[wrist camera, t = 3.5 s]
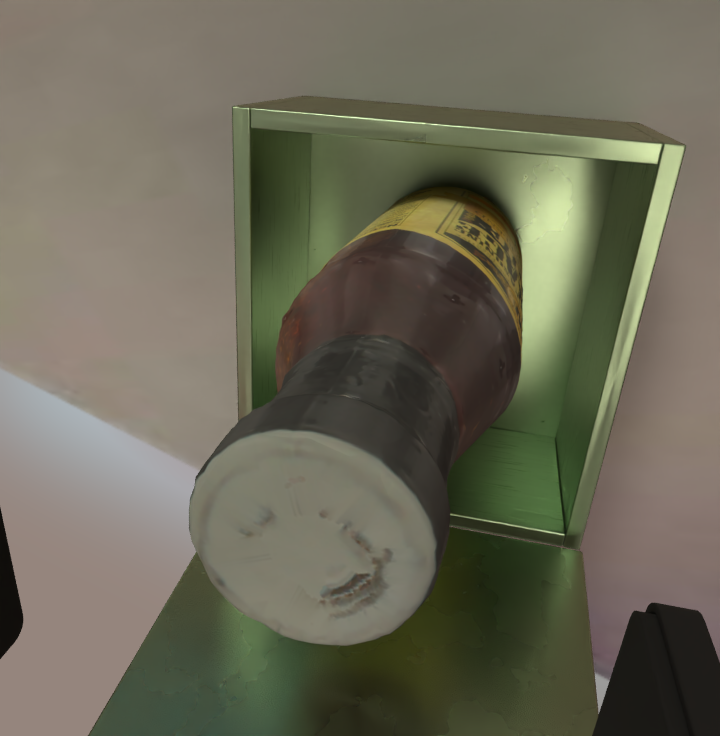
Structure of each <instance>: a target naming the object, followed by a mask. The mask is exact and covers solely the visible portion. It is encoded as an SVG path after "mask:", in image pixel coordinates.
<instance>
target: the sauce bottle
mask: <svg viewBox="0 0 720 736" xmlns="http://www.w3.org/2000/svg"><path fill="white" fill-rule="evenodd" d="M522 303H523V287H522V253H521V247H520V244H519V240H518V237H517V234H516V232H515V230H514V228H513V226H512V225H511V223H510V221H509V219H508V218H507V217H506V216H505V214H504V213H503V212H502V211H501V210H500V209H499V208H498V207H496V205H495V204H494V203H493V202H492V201H491V200H489V199H488V198H486V197H484V196H480V195H478V194H476V193H474V192H472V191H469V190H466V189H462V188H457V187H432V188H427V189H423V190H419V191H416V192H413V193H411V194H409V195H407V196H405V197H403V198H401V199H399V200H397V201H396V202H395V203H394V204H393V205H392V206H391V207H390V208H389V209H387V210H386V211H385V212H384V213H383V214H382V215H380V216H379V217H378V218H377V219H376V220H375V221H374V222H372V223H371V224H370V225H369V226H368V227H366V228H365V229H364V230H363V231H362V232H361V233H359V234H358V235H357V236H356V237H355V238H354V239H352V240H351V241H350V242H349V243H348V244H346V245H345V246H344V247H343V248H342V249H340V250H339V251H338V252H337V253H336V254H335V255H334V256H333V257H332V258H331V259H330V260H329V261H328V262H327V263H326V264H325V265H324V267H323V268H322V269H321V271H320V272H319V273H318V274H317V275H316V276H315V277H314V278H312V279H310V281H309V282H308V283H307V284H306V286H305V287H304V288H303V289H302V290H301V291H300V293H299V294H298V296H297V297H296V298H295V299H294V301H293V303H292V305H291V306H290V308H289V310H288V311H287V313H286V314H285V315H284V316H283V318H282V326H281V329H280V332H279V338H278V343H277V347H276V360H275V373H276V381H277V392H278V393H277V395H276V396H275V397H274V398H273V399H272V401H270V402H269V403H267V404H265V405H264V406H262V407H259V408H257V409H254V410H252V411H251V412H250V413H249V414H248V415H247V416H245V417H243V418H241V419H240V420H239V422H238V423H237V424H236V426H235V427H234V428H232V429H231V431H230V432H229V433H228V434H227V435H226V437H225V438H224V439H223V440H222V442H221V443H220V444H219V446H218V447H217V448H216V450H215V451H214V453H213V454H212V455H211V457H210V458H209V459H208V460H207V462H206V463H205V464H204V466H203V467H202V469H201V470H200V472H199V473H198V475H197V476H196V479H195V486H194V489H193V492H192V495H191V498H190V507H189V530H190V535H191V539H192V542H193V544H194V547H195V549H196V552H197V554H198V556H199V558H200V559H201V561H202V563H203V566H204V568H205V570H206V572H207V574H208V576H209V579H210V581H211V582H212V584H213V585H214V586H215V587H216V588H217V590H218V591H219V592H220V593H221V594H222V595H223V596H224V597H225V598H226V599H227V600H228V601H229V602H230V603H231V604H232V605H233V606H234V607H235V608H236V609H238V610H239V611H240V612H241V613H243V614H244V615H246V616H248V617H250V618H252V619H254V620H256V621H258V622H261V623H262V624H264V625H265V626H267V627H268V628H270V629H271V630H273V631H275V632H277V633H279V634H281V635H283V636H285V637H288V638H291V639H294V640H298V641H303V642H308V643H313V644H324V645H341V646H349V645H354V644H358V643H362V642H367V641H371V640H376V639H378V638H380V637H382V636H384V635H388V634H391V633H392V632H394V631H395V630H396V629H398V628H399V627H401V626H402V625H403V623H404V622H405V621H406V620H407V619H409V618H410V617H411V616H412V615H414V613H415V612H416V611H417V610H418V609H419V607H420V606H421V605H422V604H423V603H424V601H425V600H426V599H427V598H428V597H429V595H430V594H431V593H432V591H433V589H434V586H435V583H436V580H437V577H438V572H439V568H440V565H441V563H442V558H443V554H444V552H445V549H446V545H447V540H448V536H449V532H450V529H449V524H450V513H451V511H450V505H449V499H448V493H447V477H448V475H449V471H450V470H451V467H452V465H453V464H454V463H455V462H456V461H457V460H458V459H459V457H460V456H461V455H462V454H463V453H464V452H465V451H466V450H467V449H468V448H469V447H470V446H471V445H472V444H473V443H474V442H475V441H476V440H477V439H478V438H479V437H480V436H481V435H482V434H483V433H484V432H485V431H486V430H487V429H488V428H489V427H490V426H491V425H492V424H493V423H494V422H495V421H496V420H497V419H498V418H499V417H500V416H501V414H502V413H503V412H504V411H505V410H506V409H507V407H508V405H509V404H510V402H511V400H512V399H513V396H514V394H515V392H516V389H517V386H518V382H519V377H520V371H521V361H522V331H523V327H522V322H523V313H522V312H523V308H522Z"/></svg>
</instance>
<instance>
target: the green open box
mask: <svg viewBox="0 0 720 736" xmlns="http://www.w3.org/2000/svg"><path fill="white" fill-rule="evenodd" d="M232 125H233V175H234V225H235V276H236V326H237V376H238V422H239V420H240V419H241V418H243V417H245V416H247V415H248V414H249V413H250V412H251V411H252V410H254V409H257V408H259V407H262V406H264V405H265V404H267V403H269V402H270V401H272V399H273V398H274V397H275V396H276V395H277V393H278V392H277V381H276V373H275V360H276V347H277V343H278V338H279V332H280V329H281V326H282V318H283V316H284V315H285V314H286V313H287V311H288V310H289V308H290V306H291V305H292V303H293V301H294V299H295V298H296V297H297V296H298V294H299V293H300V291H301V290H302V289H303V288H304V287H305V286H306V284H307V283H308V282H309V281H310V279H312V278H314V277H315V276H316V275H317V274H318V273H319V272H320V271H321V269H322V268H323V267H324V265H325V264H326V263H327V262H328V261H329V260H330V259H331V258H332V257H333V256H334V255H335V254H336V253H337V252H338V251H339V250H340V249H342V248H343V247H344V246H345V245H346V244H348V243H349V242H350V241H351V240H352V239H354V238H355V237H356V236H357V235H358V234H359V233H361V232H362V231H363V230H364V229H365V228H366V227H368V226H369V225H370V224H371V223H372V222H374V221H375V220H376V219H377V218H378V217H379V216H380V215H382V214H383V213H384V212H385V211H386V210H387V209H389V208H390V207H391V206H392V205H393V204H394V203H395V202H396V201H397V200H399V199H401V198H403V197H405V196H407V195H409V194H411V193H413V192H416V191H419V190H423V189H427V188H432V187H457V188H462V189H466V190H469V191H472V192H474V193H476V194H478V195H480V196H484V197H486V198H488V199H489V200H491V201H492V202H493V203H494V204H495V205H496V207H498V208H499V209H500V210H501V211H502V212H503V213H504V214H505V216H506V217H507V218H508V219H509V221H510V223H511V225H512V226H513V228H514V230H515V232H516V234H517V237H518V240H519V244H520V247H521V253H522V287H523V303H522V308H523V312H522V313H523V322H522V327H523V331H522V361H521V371H520V377H519V382H518V386H517V389H516V392H515V394H514V396H513V399H512V400H511V402H510V404H509V405H508V407H507V409H506V410H505V411H504V412H503V413H502V414H501V416H500V417H499V418H498V419H497V420H496V421H495V422H494V423H493V424H492V425H491V426H490V427H489V428H488V429H487V430H486V431H485V432H484V433H483V434H482V435H481V436H480V437H479V438H478V439H477V440H476V441H475V442H474V443H473V444H472V445H471V446H470V447H469V448H468V449H467V450H466V451H465V452H464V453H463V454H462V455H461V456H460V457H459V459H458V460H457V461H456V462H455V463H454V464H453V465H452V467H451V470H450V471H449V475H448V477H447V493H448V499H449V505H450V511H451V513H450V524H449V525H450V526H455V527H460V528H466V529H471V530H477V531H482V532H487V533H493V534H498V535H503V536H509V537H514V538H520V539H525V540H530V541H536V542H541V543H546V544H552V545H557V546H562V545H563V547H566V548H572V549H577V550H579V549H580V546H581V542H582V538H583V534H584V531H585V527H586V523H587V519H588V516H589V512H590V508H591V504H592V500H593V497H594V493H595V489H596V485H597V482H598V478H599V474H600V470H601V466H602V463H603V459H604V455H605V451H606V448H607V444H608V440H609V436H610V432H611V429H612V425H613V421H614V417H615V414H616V410H617V406H618V402H619V398H620V395H621V391H622V387H623V383H624V380H625V376H626V372H627V368H628V364H629V361H630V357H631V353H632V349H633V346H634V342H635V338H636V334H637V330H638V327H639V323H640V319H641V315H642V312H643V308H644V304H645V300H646V296H647V293H648V289H649V285H650V281H651V277H652V274H653V270H654V266H655V262H656V259H657V255H658V251H659V247H660V243H661V240H662V236H663V232H664V228H665V225H666V221H667V217H668V213H669V209H670V206H671V202H672V198H673V194H674V191H675V187H676V183H677V179H678V175H679V172H680V168H681V164H682V160H683V157H684V153H685V149H686V145H684V144H682V143H680V142H678V141H676V140H674V139H672V138H670V137H667V136H665V135H663V134H661V133H659V132H657V131H655V130H653V129H651V128H648V127H646V126H644V125H642V124H640V123H632V122H620V121H607V120H595V119H583V118H571V117H558V116H546V115H534V114H521V113H509V112H497V111H485V110H472V109H460V108H448V107H435V106H423V105H411V104H399V103H386V102H374V101H362V100H350V99H337V98H325V97H313V96H299V97H292V98H285V99H278V100H272V101H265V102H258V103H251V104H244V105H237V106H233V107H232Z"/></svg>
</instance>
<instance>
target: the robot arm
mask: <svg viewBox="0 0 720 736" xmlns="http://www.w3.org/2000/svg"><path fill="white" fill-rule="evenodd" d="M22 625H23V613H22V609H21V603H20V599H19V594H18V589H17V584H16V580H15V575H14V570H13V565H12V561H11V556H10V552H9V546H8V542H7V537H6V532H5V528H4V523H3V519H2V513H1V509H0V659H1V658H2V656H3V655H4V654H5V653H6V652H7V651H8V649H9V648H10V647H11V646H12V645H13V644H14V642H15V641H16V639H17V638H18V636H19V634H20V632H21V629H22ZM592 736H720V662H719V659H718V657H717V654H716V651H715V648H714V645H713V643H712V640H711V637H710V634H709V631H708V629H707V626H706V623H705V620H704V618H703V616H702V614H701V613H700V612H698V611H696V610H691V609H686V608H680V607H675V606H670V605H664V604H659V603H651V604H650V605H649V606H648V607H647V610H646V612H640V611H634V612H633V613H632V615H631V617H630V620H629V623H628V626H627V629H626V632H625V635H624V638H623V641H622V645H621V648H620V651H619V654H618V657H617V660H616V663H615V666H614V669H613V672H612V675H611V678H610V682H609V685H608V688H607V691H606V694H605V697H604V700H603V704H602V706H601V709H600V712H599V716H598V719H597V722H596V725H595V728H594V731H593V734H592Z"/></svg>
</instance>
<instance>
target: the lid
mask: <svg viewBox="0 0 720 736" xmlns="http://www.w3.org/2000/svg"><path fill="white" fill-rule="evenodd" d="M449 529H450V532H449V536H448V540H447V545H446V549H445V552H444V554H443V558H442V563H441V565H440V568H439V572H438V577H437V580H436V583H435V586H434V589H433V591H432V593H431V594H430V595H429V597H428V598H427V599H426V600H425V601H424V603H423V604H422V605H421V606H420V607H419V609H418V610H417V611H416V612H415V613H414V615H412V616H411V617H410V618H409V619H407V620H406V621H405V622H404V623H403V625H402V626H401V627H399V628H398V629H396V630H395V631H394V632H392V633H391V634H388V635H384V636H382V637H380V638H378V639H376V640H371V641H367V642H362V643H358V644H354V645H349V646H341V645H324V644H313V643H308V642H303V641H298V640H294V639H291V638H288V637H285V636H283V635H281V634H279V633H277V632H275V631H273V630H271V629H270V628H268V627H267V626H265V625H264V624H262V623H261V622H258V621H256V620H254V619H252V618H250V617H248V616H246V615H244V614H243V613H241V612H240V611H239V610H238V609H236V608H235V607H234V606H233V605H232V604H231V603H230V602H229V601H228V600H227V599H226V598H225V597H224V596H223V595H222V594H221V593H220V592H219V591H218V590H217V588H216V587H215V586H214V585H213V584H212V582H211V581H210V579H209V576H208V574H207V572H206V570H205V568H204V566H203V563H202V561H201V559H200V558H199V556H198V554H197V552H196V553H195V555H194V557H193V559H192V560H191V562H190V564H189V565H188V567H187V569H186V570H185V572H184V574H183V576H182V577H181V579H180V581H179V582H178V584H177V586H176V587H175V589H174V591H173V592H172V594H171V596H170V597H169V599H168V601H167V603H166V604H165V606H164V608H163V610H162V611H161V613H160V614H159V616H158V618H157V620H156V621H155V623H154V625H153V626H152V628H151V630H150V631H149V633H148V635H147V637H146V638H145V640H144V642H143V643H142V645H141V647H140V649H139V650H138V652H137V654H136V655H135V657H134V659H133V660H132V662H131V664H130V666H129V667H128V669H127V670H126V672H125V674H124V676H123V677H122V679H121V681H120V683H119V684H118V686H117V688H116V689H115V691H114V693H113V694H112V696H111V698H110V699H109V701H108V703H107V705H106V706H105V708H104V710H103V711H102V713H101V715H100V716H99V718H98V720H97V722H96V723H95V725H94V727H93V729H92V730H91V732H90V733H89V735H88V736H592V734H593V731H594V728H595V725H596V722H597V719H598V716H599V714H598V704H597V694H596V684H595V673H594V663H593V653H592V643H591V633H590V623H589V613H588V602H587V592H586V582H585V572H584V562H583V553H582V552H581V551H576V550H571V549H565V548H560V547H555V546H549V545H544V544H539V543H533V542H528V541H523V540H517V539H512V538H506V537H501V536H496V535H490V534H485V533H480V532H474V531H469V530H464V529H458V528H453V527H449Z"/></svg>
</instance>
